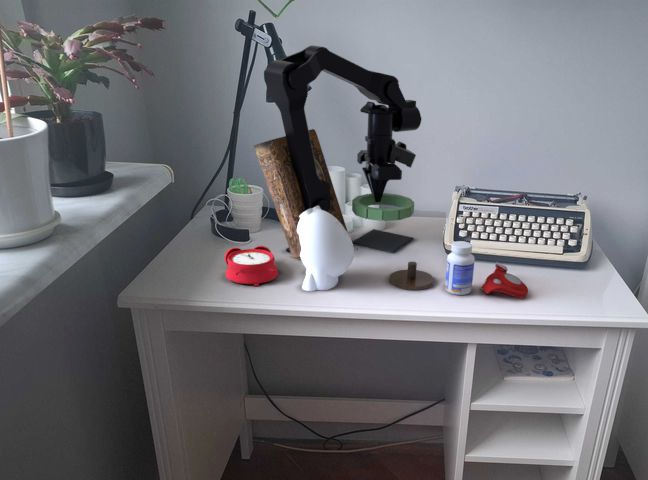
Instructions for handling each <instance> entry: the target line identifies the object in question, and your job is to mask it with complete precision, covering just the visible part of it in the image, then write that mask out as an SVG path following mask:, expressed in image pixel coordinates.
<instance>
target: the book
mask: <svg viewBox="0 0 648 480" xmlns="http://www.w3.org/2000/svg"><path fill="white" fill-rule="evenodd" d="M308 130H309V135H310V140H311V145H312V150H313V155H314V160H315V165H316V170H317V175H318V177H319V179H321V180H324V181H326V182H328V183H329V185H330V194H331V197H332V198H333V200H330V201H331V209H330V210H329V212H328V213H330V214H331V215H333V216H334V217H335V218H336V219H337V220H338V221H339V222H340V223H341V224H342V225H343V227H344V229H345V230H346V231H347V232H348V228H347V226H346V221H345V218H344V215H343V212H342V209H341V206H340V202H339V200H338V197H337V194H336V193H337V192H336V190H335V186H334V184H333V181H332V177H331V175H330V172H329V171H330V170H329V169H328V165H327V162H326V158H325V155H324V152H323V150H322V146H321V142H320V139H319V137H318V134H317V131H316V130H315V128H312V129H308ZM253 148H254V151H255V154H256V156H257V159H258V163H259V166H260V168H261V171H262V174H263V177H264V180H265V182H266V185H267V188H268V191H269V194H270V197H271V199H272V203H273V205H274V208H275V212H276V215H277V218H278V220H279V222H280V223H279V224H280V225H281V228H282V231H283V234H284V237H285V240H286V242H287V245H288V248H289V249H290V251H291V252H290V255H291V257H292V258H294V259H297V260H302V259H301V257H300V252H301V244H300V239H299V234H298V233H297V226H298V222H299V220H300V217H299V216H300V215H301V214H302V213H303V212H304V211H306V210H305V207H304V203H303V199H302V195H301V192H300V188H299V184H298V180H297V177H296V174H295V171H294V169H293V166H292V162H291V157H290V153H289V148H288V144H287V139H286V135H284V136H279V137H276V138H273V139H269V140H266V141H264V142H260V143H257V144H254V145H253Z"/></svg>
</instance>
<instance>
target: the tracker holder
mask: <svg viewBox="0 0 648 480" xmlns="http://www.w3.org/2000/svg"><path fill="white" fill-rule="evenodd" d="M494 267H495V269H494V271H493V272H491V274H489V275H488V276H487V277H486V278H485V280H484V283H483V284H482V285H481V286H480V289H481V290H482V291H483V292H484V293H485V294H486V295H489V294H490V293H491V292H500V293H503V294H505V295H509V296H512V297H515V298H519V299H521V298H522V299H523V298H526V297H527V296H528V293H529V287H528V286H527V285H526V283H524V282H523V281H522V280H521V279H520V278H518V277H517V276H515V275H514V274H511V273H508V267H507V266H505V265H503V264H501V263H499V262H498V261H496V262H495V265H494Z"/></svg>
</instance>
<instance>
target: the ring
mask: <svg viewBox="0 0 648 480" xmlns="http://www.w3.org/2000/svg"><path fill="white" fill-rule="evenodd" d="M373 206H390V207H391V206H392V207H391V208H388V207H387V208H383V207H382V208H381V207H373ZM351 211H352V212H353V214H354V215H355V216H356V217H359V218H361V219H362V218H363V219H365V220H369V221H370V220H371V221H379V222H393V221H395V222H396V221H401V220H405V219H409V218H411V217H412V216H413V215H414V213H415V201H413V200H412V198H410V197H408V196H404V195H402V194H395V193H385V192H384V193H383V196H382V199H381V202H376V201H375V198H374V194H372V193H365V194H360V195H357V196H355V197H354V198H353V199H352V200H351Z"/></svg>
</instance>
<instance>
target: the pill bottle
mask: <svg viewBox="0 0 648 480" xmlns="http://www.w3.org/2000/svg"><path fill="white" fill-rule="evenodd" d="M450 250H451V251H450V253H449V254H448V255H447V258H446V270H445V271H446V272H445V280H444V281H445V283H444V289H445V291H446V292H447V293H449V294H451V295H455V296H456V295H457V296H464V295H468V294H470V293H472V290H473V279H474V268H475V261H476V258H475V256H474V255H473V254H472V251H473V244H472V243H471V242H469V241H463V240H458V241H453V242H452V243H451V249H450Z"/></svg>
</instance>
